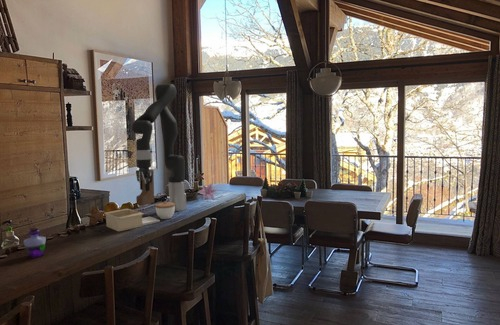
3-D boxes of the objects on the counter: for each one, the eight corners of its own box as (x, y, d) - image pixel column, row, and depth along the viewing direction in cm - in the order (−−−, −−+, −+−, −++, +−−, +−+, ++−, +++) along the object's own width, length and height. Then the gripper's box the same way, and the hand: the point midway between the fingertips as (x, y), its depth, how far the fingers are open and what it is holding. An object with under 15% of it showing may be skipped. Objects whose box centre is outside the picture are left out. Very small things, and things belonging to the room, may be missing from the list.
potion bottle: (42, 258, 159) (40, 229, 158) (20, 259, 158) (17, 230, 157) (51, 251, 167) (49, 223, 166) (30, 252, 167) (27, 224, 165)
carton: (128, 221, 217) (127, 208, 216) (144, 226, 204) (144, 213, 203) (104, 225, 207) (103, 212, 207) (120, 232, 195) (119, 218, 194)
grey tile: (149, 218, 222) (149, 216, 222) (160, 221, 214) (159, 219, 214) (132, 221, 215) (132, 219, 215) (143, 225, 207) (143, 223, 207)
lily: (195, 200, 275) (196, 189, 269) (202, 191, 284) (203, 180, 279) (211, 206, 273) (212, 195, 267) (218, 196, 282) (219, 185, 277)
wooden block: (142, 205, 208) (141, 171, 206) (136, 204, 210) (135, 170, 208) (154, 202, 216) (153, 169, 214) (148, 201, 218) (147, 169, 216)
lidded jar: (151, 219, 220) (151, 202, 219) (163, 214, 230) (163, 198, 229) (167, 220, 216) (166, 203, 215) (179, 216, 225) (178, 200, 224)
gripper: (156, 158, 208) (158, 190, 210) (143, 157, 219) (144, 187, 220) (144, 159, 203) (145, 192, 205) (130, 158, 213) (131, 189, 215)
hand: (144, 190), depth 213 cm, fingers closed on wooden block, 4 cm apart
